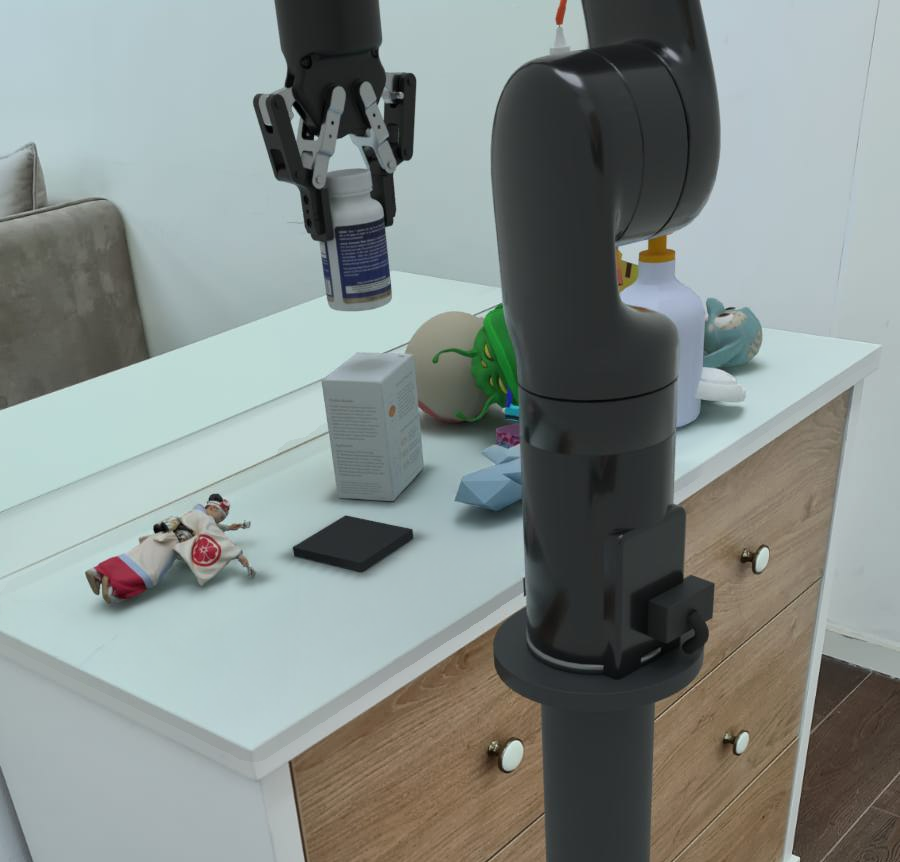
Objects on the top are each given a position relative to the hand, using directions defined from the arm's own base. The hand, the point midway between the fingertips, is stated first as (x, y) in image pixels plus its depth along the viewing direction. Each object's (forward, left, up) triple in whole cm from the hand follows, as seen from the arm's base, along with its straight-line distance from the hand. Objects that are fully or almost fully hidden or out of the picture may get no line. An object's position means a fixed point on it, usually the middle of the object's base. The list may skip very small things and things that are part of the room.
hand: (353, 232), depth 93 cm
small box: (0, 0, -21) cm, 21 cm away
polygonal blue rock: (-12, -5, -21) cm, 25 cm away
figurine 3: (-6, -9, -17) cm, 20 cm away
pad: (-9, +10, -21) cm, 25 cm away
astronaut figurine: (-3, -34, -20) cm, 40 cm away
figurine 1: (-4, +22, -21) cm, 31 cm away
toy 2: (+4, -17, -12) cm, 21 cm away
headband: (-6, -16, -22) cm, 28 cm away
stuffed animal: (-1, -44, -21) cm, 48 cm away
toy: (+6, -31, -13) cm, 34 cm away
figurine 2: (+2, -16, -16) cm, 23 cm away
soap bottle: (-8, -28, -21) cm, 36 cm away
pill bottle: (0, 0, -6) cm, 6 cm away
